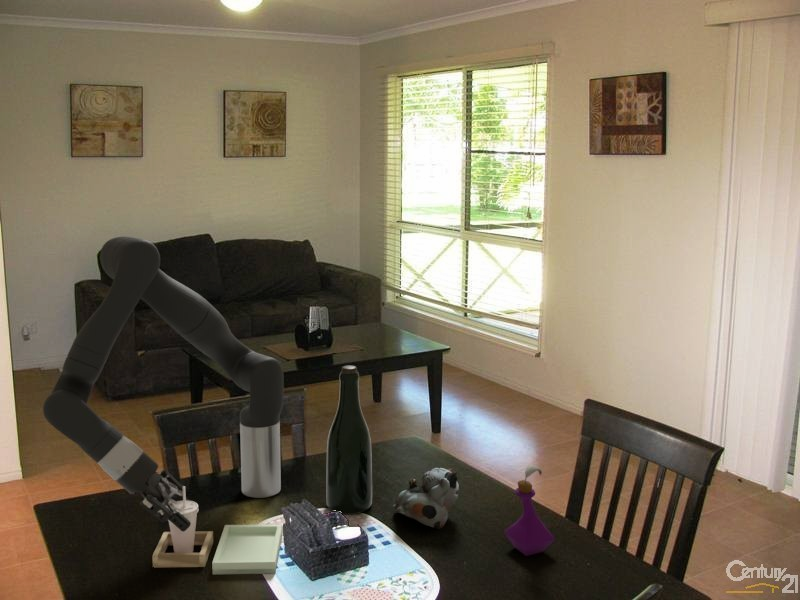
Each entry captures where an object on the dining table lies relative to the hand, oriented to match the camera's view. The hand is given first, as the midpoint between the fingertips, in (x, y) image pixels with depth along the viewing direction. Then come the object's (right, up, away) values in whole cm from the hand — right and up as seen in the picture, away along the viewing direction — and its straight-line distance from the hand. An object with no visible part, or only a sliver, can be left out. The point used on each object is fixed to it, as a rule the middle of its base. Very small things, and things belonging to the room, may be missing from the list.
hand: (190, 519), depth 166 cm
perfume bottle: (+68, -8, +5) cm, 69 cm away
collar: (-2, -7, +1) cm, 8 cm away
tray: (+11, -7, +2) cm, 14 cm away
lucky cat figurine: (+47, -5, +19) cm, 51 cm away
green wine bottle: (+30, -3, +25) cm, 39 cm away
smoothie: (-2, -7, +1) cm, 7 cm away
